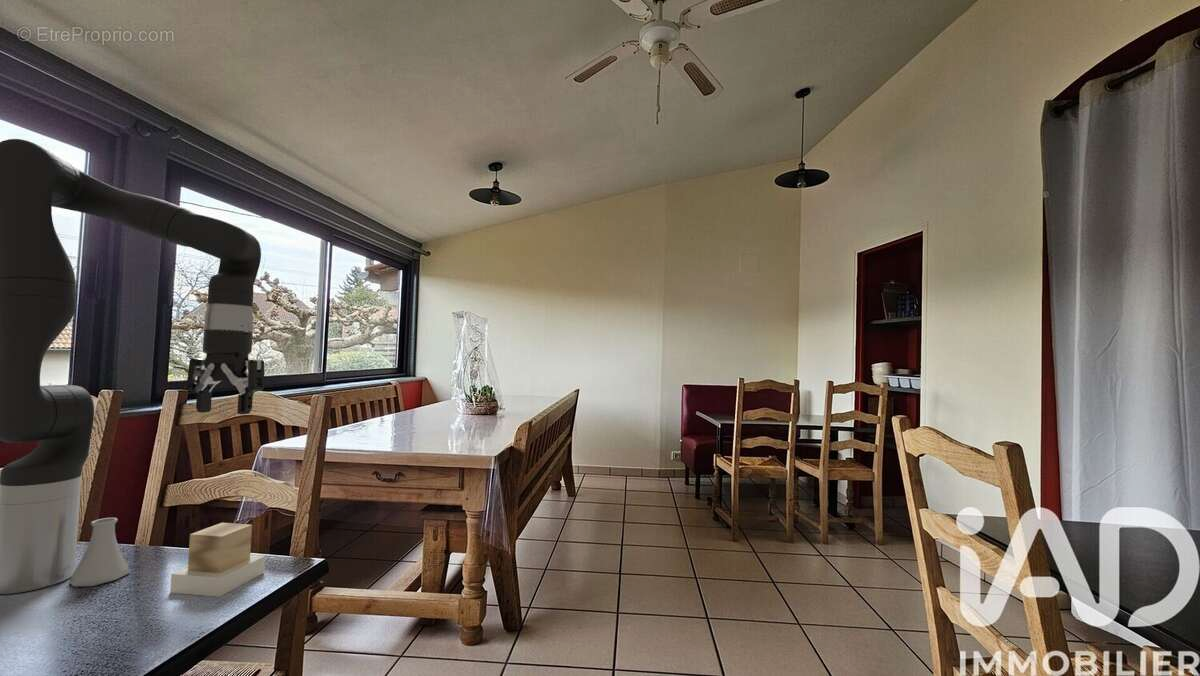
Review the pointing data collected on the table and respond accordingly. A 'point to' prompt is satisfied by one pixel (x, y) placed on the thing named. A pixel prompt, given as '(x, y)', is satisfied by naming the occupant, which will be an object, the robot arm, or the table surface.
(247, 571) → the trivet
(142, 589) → the table surface
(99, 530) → the flask
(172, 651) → the table surface
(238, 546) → the oak block
